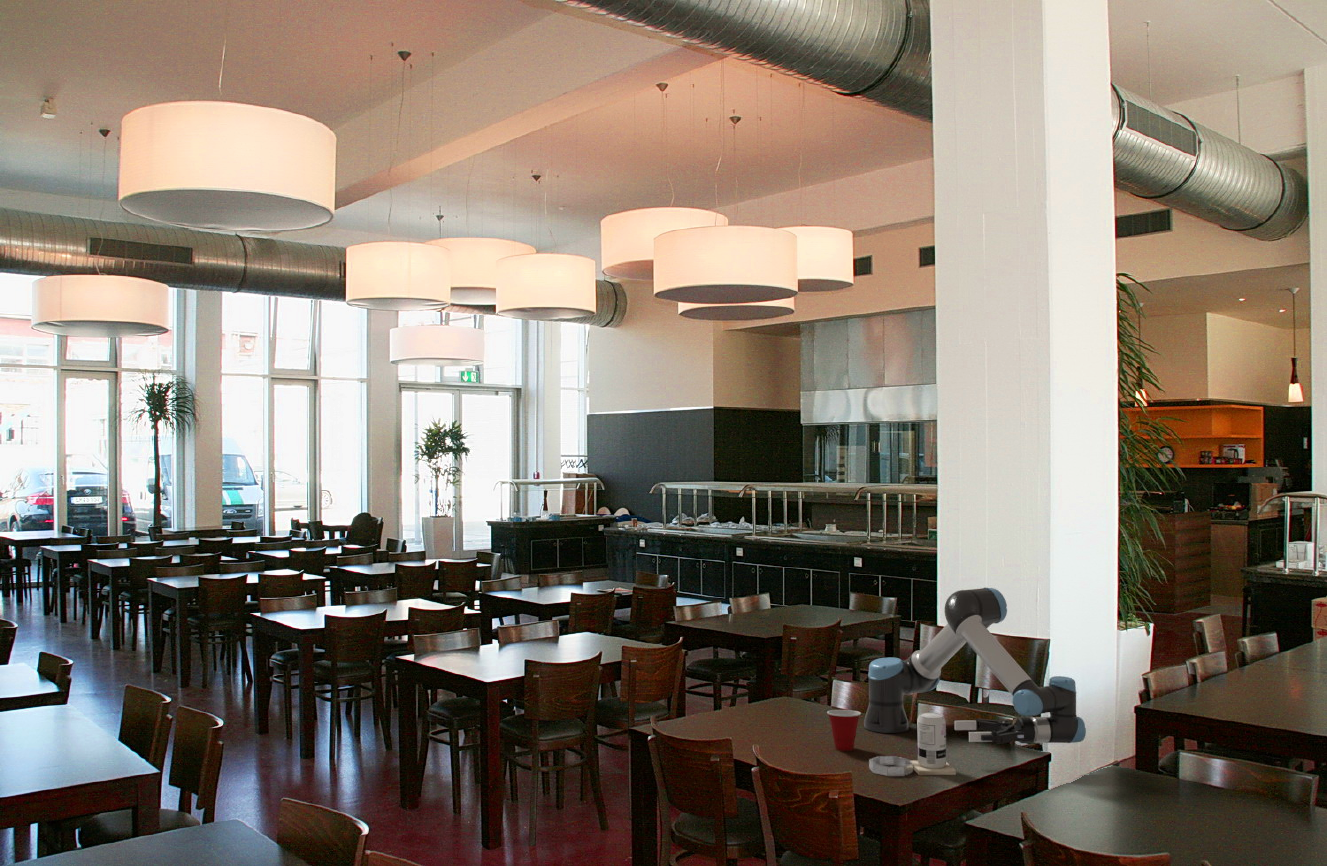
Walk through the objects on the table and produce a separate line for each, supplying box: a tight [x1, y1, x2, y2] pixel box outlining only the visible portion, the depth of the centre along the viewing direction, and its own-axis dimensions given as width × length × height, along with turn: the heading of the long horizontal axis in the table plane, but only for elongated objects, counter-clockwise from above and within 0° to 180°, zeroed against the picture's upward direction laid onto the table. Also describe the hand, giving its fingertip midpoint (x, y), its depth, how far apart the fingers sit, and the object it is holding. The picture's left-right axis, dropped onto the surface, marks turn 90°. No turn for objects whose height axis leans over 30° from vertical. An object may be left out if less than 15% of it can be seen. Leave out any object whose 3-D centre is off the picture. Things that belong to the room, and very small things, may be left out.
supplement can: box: [916, 711, 947, 769], centre depth 314 cm, size 8×8×15 cm
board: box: [909, 759, 957, 776], centre depth 313 cm, size 11×11×1 cm
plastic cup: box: [826, 709, 862, 752], centre depth 337 cm, size 11×11×12 cm
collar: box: [868, 755, 914, 777], centre depth 313 cm, size 12×12×2 cm
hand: (961, 731), depth 314 cm, fingers open, 13 cm apart
